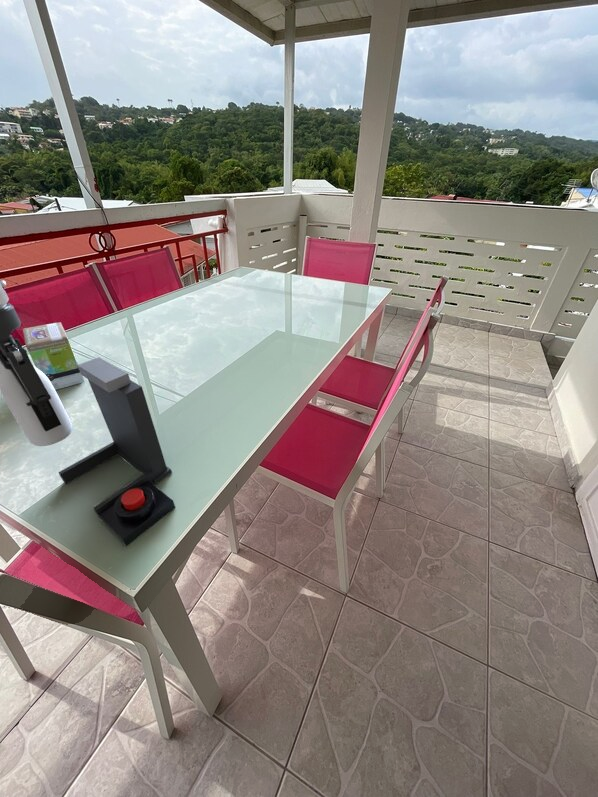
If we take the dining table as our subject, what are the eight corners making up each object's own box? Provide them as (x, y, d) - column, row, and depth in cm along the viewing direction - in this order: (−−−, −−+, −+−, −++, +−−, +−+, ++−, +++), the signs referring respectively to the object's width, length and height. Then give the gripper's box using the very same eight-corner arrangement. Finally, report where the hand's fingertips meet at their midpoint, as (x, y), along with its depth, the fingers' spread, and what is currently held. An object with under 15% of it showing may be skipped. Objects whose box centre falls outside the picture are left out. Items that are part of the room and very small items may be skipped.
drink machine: (102, 522, 60) (47, 419, 47) (62, 481, 68) (5, 382, 54) (172, 473, 70) (143, 376, 57) (130, 442, 78) (96, 350, 64)
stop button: (130, 514, 58) (128, 508, 57) (119, 504, 59) (116, 497, 58) (149, 500, 60) (146, 494, 59) (138, 491, 62) (135, 485, 61)
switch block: (126, 546, 56) (119, 533, 54) (102, 522, 60) (95, 508, 58) (175, 507, 63) (171, 493, 61) (151, 487, 67) (146, 474, 65)
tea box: (86, 382, 100) (67, 336, 91) (47, 393, 95) (23, 346, 86) (78, 362, 109) (60, 320, 101) (42, 371, 104) (20, 327, 96)
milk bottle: (81, 431, 69) (39, 343, 58) (41, 452, 64) (-14, 361, 52) (62, 418, 72) (18, 333, 61) (22, 438, 67) (-33, 349, 56)
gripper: (35, 314, 50) (88, 429, 63) (-12, 289, 60) (42, 393, 73) (-27, 330, 45) (45, 451, 58) (-66, 300, 55) (2, 409, 68)
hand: (43, 418), depth 66 cm, fingers closed on milk bottle, 8 cm apart
